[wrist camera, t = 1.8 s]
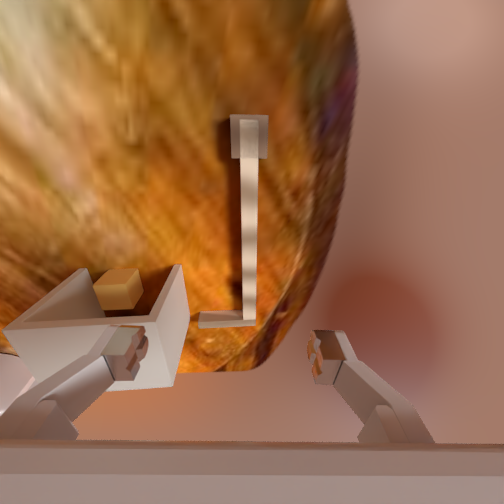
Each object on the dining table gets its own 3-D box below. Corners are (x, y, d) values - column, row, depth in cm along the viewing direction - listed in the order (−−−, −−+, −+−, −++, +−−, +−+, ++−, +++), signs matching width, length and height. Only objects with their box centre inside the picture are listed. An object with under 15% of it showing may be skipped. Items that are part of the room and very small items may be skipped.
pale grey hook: (259, 314, 46) (261, 325, 43) (201, 317, 45) (198, 328, 42) (265, 117, 30) (268, 115, 27) (175, 116, 29) (169, 113, 26)
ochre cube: (144, 290, 41) (133, 308, 36) (116, 292, 41) (102, 310, 36) (137, 268, 39) (125, 284, 34) (108, 269, 38) (92, 285, 34)
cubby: (190, 317, 44) (172, 386, 32) (101, 322, 43) (46, 395, 31) (181, 264, 39) (155, 321, 26) (79, 268, 38) (1, 330, 25)
